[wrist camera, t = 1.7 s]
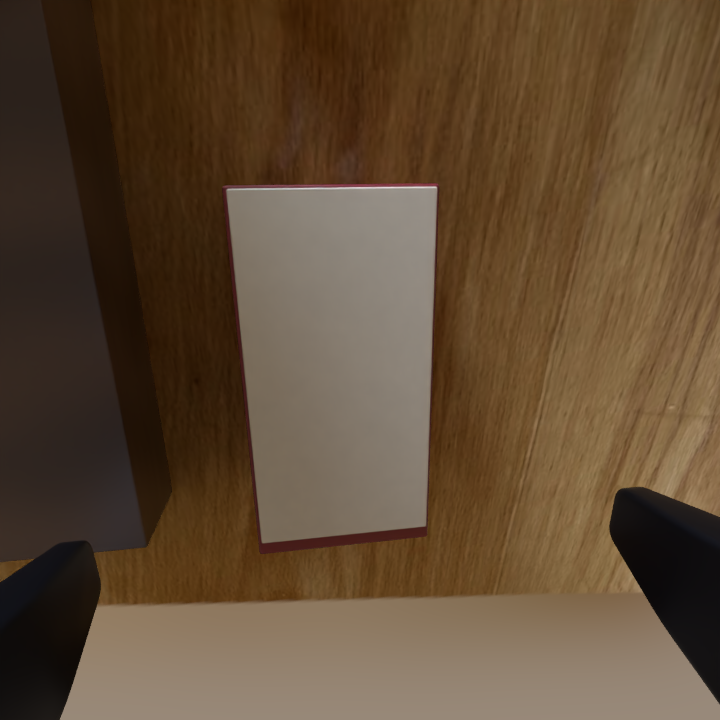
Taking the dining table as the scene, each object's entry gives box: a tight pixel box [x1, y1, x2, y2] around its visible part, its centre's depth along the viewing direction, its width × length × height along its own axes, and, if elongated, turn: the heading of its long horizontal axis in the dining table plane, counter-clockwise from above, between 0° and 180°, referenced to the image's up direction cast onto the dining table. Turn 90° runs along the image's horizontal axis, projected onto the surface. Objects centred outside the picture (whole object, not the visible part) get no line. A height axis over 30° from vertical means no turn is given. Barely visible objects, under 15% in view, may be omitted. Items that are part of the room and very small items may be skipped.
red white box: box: [222, 183, 439, 554], centre depth 16 cm, size 12×6×5 cm, turn 1°
